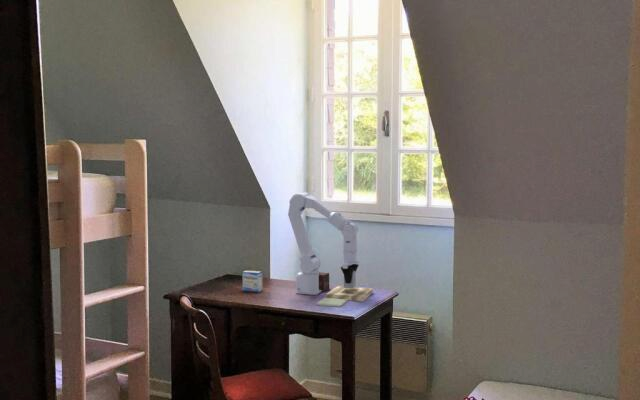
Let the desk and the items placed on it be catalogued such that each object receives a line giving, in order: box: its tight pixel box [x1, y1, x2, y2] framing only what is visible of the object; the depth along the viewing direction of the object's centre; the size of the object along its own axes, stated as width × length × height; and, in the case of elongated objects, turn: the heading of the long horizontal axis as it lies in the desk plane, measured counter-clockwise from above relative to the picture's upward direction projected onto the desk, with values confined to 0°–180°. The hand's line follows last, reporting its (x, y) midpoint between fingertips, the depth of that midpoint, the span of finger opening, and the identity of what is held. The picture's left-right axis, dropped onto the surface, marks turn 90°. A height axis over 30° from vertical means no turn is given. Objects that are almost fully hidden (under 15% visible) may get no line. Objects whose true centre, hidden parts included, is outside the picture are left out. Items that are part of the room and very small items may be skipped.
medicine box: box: [242, 270, 263, 293], centre depth 316 cm, size 8×4×9 cm, turn 73°
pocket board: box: [325, 285, 374, 302], centre depth 306 cm, size 16×16×2 cm
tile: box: [316, 297, 349, 308], centre depth 293 cm, size 10×10×1 cm
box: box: [319, 271, 330, 292], centre depth 318 cm, size 6×6×7 cm
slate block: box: [343, 270, 357, 289], centre depth 305 cm, size 4×4×7 cm
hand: (349, 282), depth 305 cm, fingers closed on slate block, 4 cm apart
